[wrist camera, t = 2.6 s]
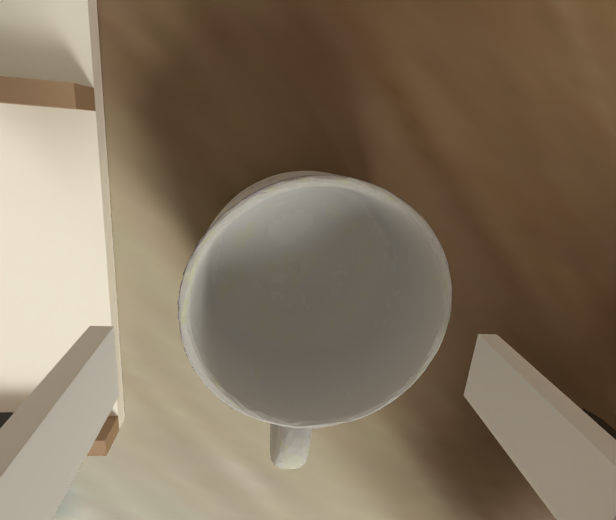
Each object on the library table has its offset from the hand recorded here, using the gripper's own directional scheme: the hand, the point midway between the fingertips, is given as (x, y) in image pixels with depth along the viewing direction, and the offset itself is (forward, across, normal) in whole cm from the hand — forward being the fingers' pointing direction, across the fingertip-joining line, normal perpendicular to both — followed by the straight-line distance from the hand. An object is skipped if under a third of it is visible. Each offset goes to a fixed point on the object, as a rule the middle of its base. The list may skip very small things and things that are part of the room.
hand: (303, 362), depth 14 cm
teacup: (+9, 0, 0) cm, 9 cm away
